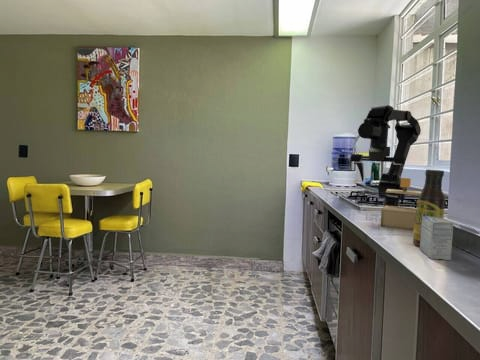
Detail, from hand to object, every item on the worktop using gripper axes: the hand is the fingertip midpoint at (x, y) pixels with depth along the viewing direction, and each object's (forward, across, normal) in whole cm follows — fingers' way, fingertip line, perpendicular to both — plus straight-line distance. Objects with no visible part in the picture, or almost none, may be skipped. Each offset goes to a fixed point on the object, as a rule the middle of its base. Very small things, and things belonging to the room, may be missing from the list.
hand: (375, 182), depth 129 cm
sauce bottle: (+14, +16, -37) cm, 43 cm away
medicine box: (+14, +17, -46) cm, 50 cm away
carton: (+13, +10, -10) cm, 19 cm away
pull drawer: (+3, +10, -3) cm, 11 cm away
